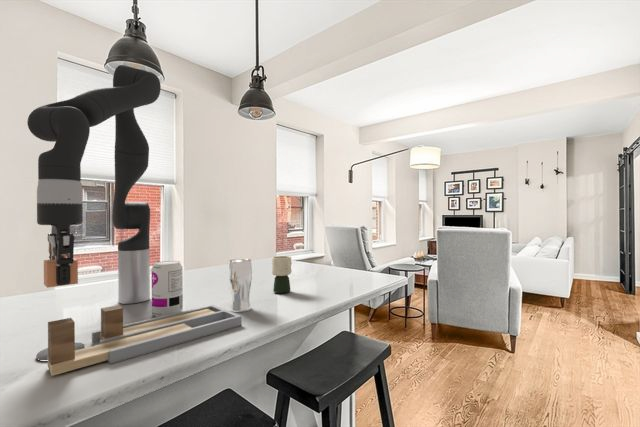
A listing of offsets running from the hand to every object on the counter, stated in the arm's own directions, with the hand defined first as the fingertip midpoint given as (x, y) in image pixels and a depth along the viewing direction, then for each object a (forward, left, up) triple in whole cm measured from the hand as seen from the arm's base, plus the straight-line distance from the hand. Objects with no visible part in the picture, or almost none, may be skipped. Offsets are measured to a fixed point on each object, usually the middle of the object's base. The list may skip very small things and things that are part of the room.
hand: (61, 282), depth 69 cm
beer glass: (+1, +43, -15) cm, 46 cm away
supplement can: (-11, +26, -15) cm, 32 cm away
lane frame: (+6, +20, -15) cm, 26 cm away
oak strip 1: (+9, +10, -15) cm, 20 cm away
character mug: (-6, +65, -15) cm, 67 cm away
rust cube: (0, 0, 0) cm, 0 cm away
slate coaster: (0, 0, -15) cm, 15 cm away
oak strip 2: (+2, +20, -15) cm, 25 cm away
